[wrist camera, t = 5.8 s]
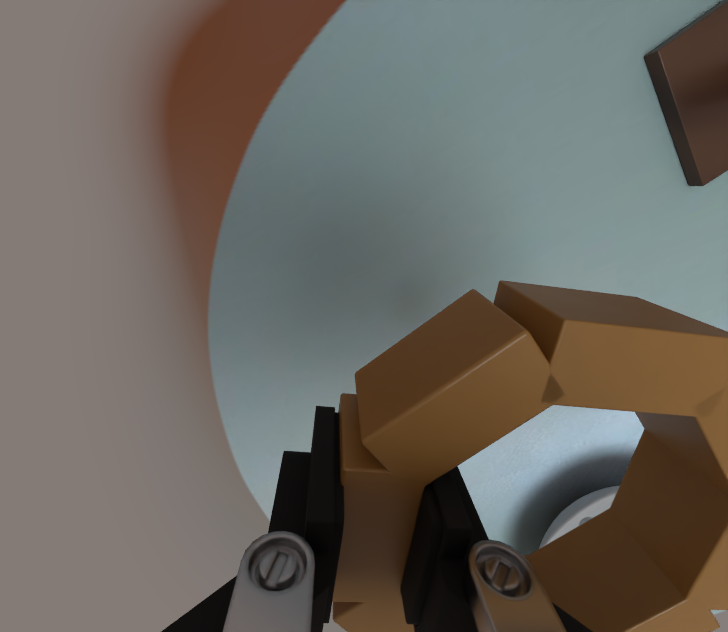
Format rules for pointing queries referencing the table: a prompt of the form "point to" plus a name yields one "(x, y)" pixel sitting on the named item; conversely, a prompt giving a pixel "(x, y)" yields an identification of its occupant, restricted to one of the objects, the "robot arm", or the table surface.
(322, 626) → the robot arm
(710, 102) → the peg stand
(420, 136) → the table surface
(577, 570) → the segmented block ring
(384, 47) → the table surface
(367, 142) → the table surface
